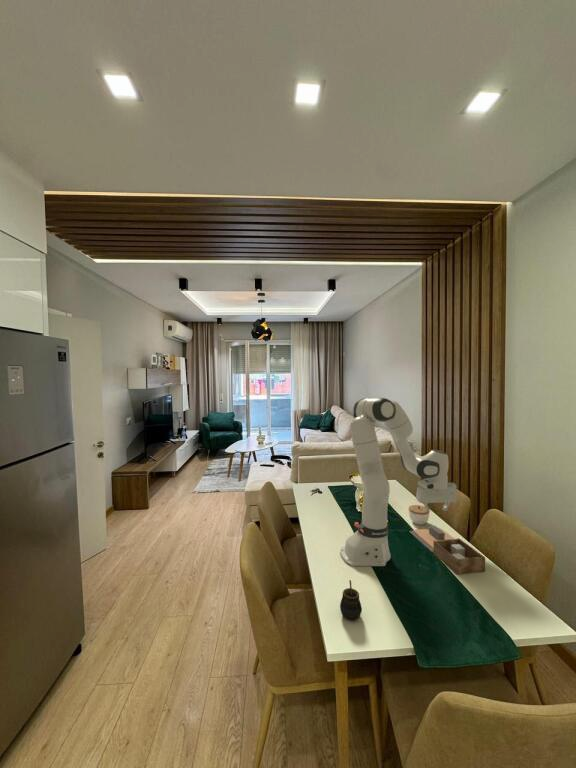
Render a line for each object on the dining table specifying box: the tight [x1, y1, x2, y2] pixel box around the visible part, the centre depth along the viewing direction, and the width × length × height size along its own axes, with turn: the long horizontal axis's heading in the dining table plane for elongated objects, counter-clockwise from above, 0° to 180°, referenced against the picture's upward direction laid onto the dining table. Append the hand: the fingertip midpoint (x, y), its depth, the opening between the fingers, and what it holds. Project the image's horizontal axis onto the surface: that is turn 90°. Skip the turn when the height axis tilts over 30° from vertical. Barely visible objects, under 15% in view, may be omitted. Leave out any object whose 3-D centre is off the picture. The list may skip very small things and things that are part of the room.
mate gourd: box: [339, 579, 363, 621], centre depth 112 cm, size 7×8×10 cm
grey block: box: [451, 544, 465, 557], centre depth 148 cm, size 4×4×4 cm
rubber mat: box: [409, 527, 454, 553], centre depth 163 cm, size 18×20×1 cm
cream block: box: [452, 553, 465, 559], centre depth 140 cm, size 4×4×4 cm
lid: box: [412, 525, 455, 550], centre depth 163 cm, size 15×18×5 cm
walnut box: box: [432, 537, 486, 576], centre depth 144 cm, size 13×16×6 cm
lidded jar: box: [408, 504, 431, 526], centre depth 182 cm, size 11×11×9 cm
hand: (436, 510), depth 162 cm, fingers open, 8 cm apart
